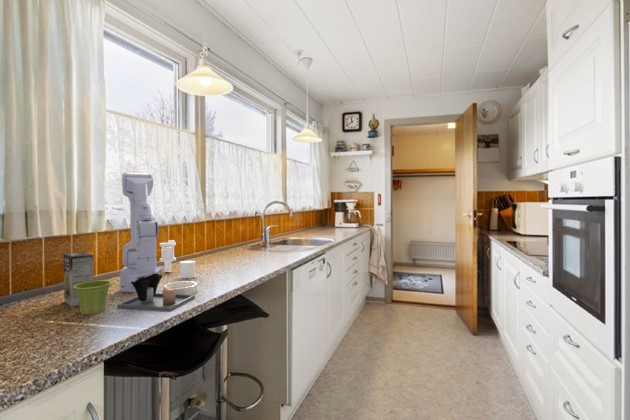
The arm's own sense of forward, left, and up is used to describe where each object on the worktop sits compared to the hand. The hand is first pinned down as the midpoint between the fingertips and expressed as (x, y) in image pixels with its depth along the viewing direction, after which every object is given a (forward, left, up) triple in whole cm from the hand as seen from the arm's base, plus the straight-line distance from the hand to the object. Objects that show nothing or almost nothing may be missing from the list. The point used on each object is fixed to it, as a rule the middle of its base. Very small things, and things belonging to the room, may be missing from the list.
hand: (147, 298), depth 110 cm
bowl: (+4, +13, -2) cm, 14 cm away
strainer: (-23, +46, -2) cm, 51 cm away
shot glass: (-8, +38, -2) cm, 39 cm away
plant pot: (-10, -11, -2) cm, 15 cm away
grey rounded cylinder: (0, 0, -1) cm, 1 cm away
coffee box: (-23, -3, -2) cm, 23 cm away
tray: (+4, 0, -2) cm, 4 cm away
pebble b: (+8, 0, -1) cm, 8 cm away
